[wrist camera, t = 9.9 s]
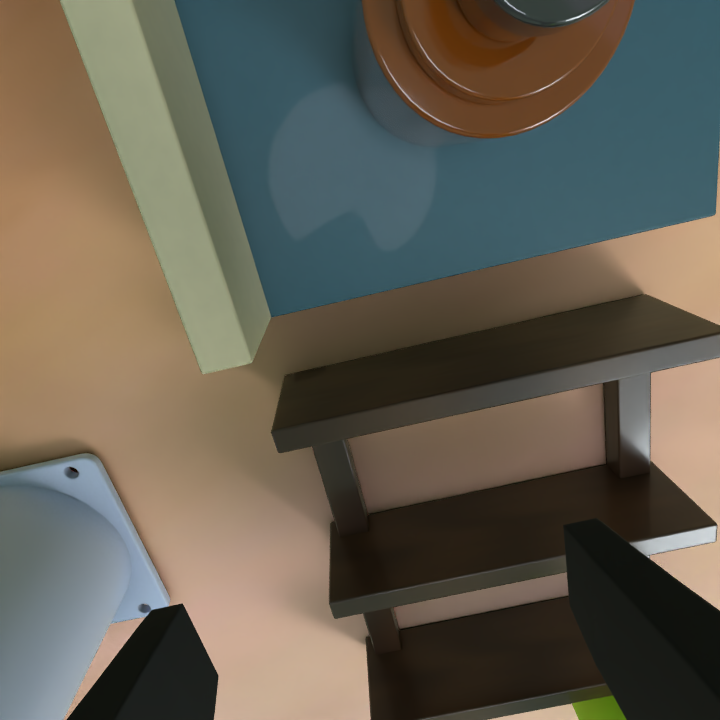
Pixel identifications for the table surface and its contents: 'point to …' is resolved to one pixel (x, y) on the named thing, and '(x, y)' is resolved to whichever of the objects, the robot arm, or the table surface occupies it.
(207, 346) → the sill
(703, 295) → the table surface
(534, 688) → the shelf rack
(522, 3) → the bottle
